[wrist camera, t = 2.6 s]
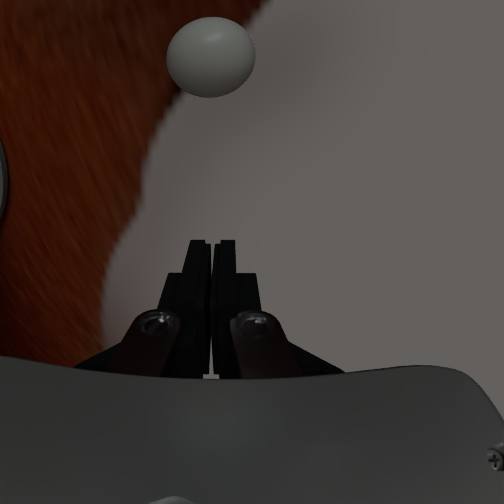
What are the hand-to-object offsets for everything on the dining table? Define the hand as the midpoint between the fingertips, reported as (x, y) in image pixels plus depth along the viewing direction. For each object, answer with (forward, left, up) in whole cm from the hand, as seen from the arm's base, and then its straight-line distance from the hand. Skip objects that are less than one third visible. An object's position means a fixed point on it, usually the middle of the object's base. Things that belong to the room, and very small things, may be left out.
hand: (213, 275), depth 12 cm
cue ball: (+6, +8, -10) cm, 14 cm away
